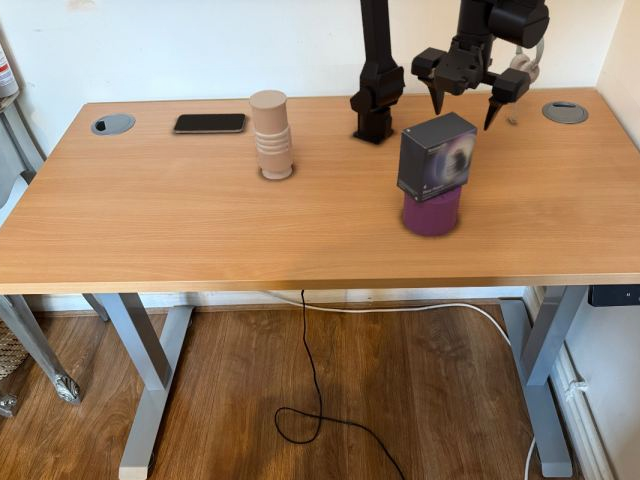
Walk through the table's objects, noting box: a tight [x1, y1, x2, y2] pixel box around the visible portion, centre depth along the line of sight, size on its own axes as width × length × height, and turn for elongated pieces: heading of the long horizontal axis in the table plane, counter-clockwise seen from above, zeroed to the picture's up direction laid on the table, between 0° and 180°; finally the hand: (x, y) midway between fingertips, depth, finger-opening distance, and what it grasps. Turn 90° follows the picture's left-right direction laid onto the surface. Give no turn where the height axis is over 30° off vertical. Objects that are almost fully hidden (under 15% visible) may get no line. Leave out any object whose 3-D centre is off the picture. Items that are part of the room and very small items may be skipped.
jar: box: [402, 185, 463, 237], centre depth 91 cm, size 9×9×7 cm
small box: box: [396, 111, 479, 204], centre depth 85 cm, size 11×6×10 cm, turn 122°
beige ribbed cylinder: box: [248, 89, 294, 180], centre depth 100 cm, size 7×7×15 cm
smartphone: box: [173, 112, 247, 134], centre depth 118 cm, size 7×1×15 cm
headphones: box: [508, 35, 545, 124], centre depth 108 cm, size 8×4×20 cm, turn 13°
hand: (461, 121), depth 92 cm, fingers open, 9 cm apart
